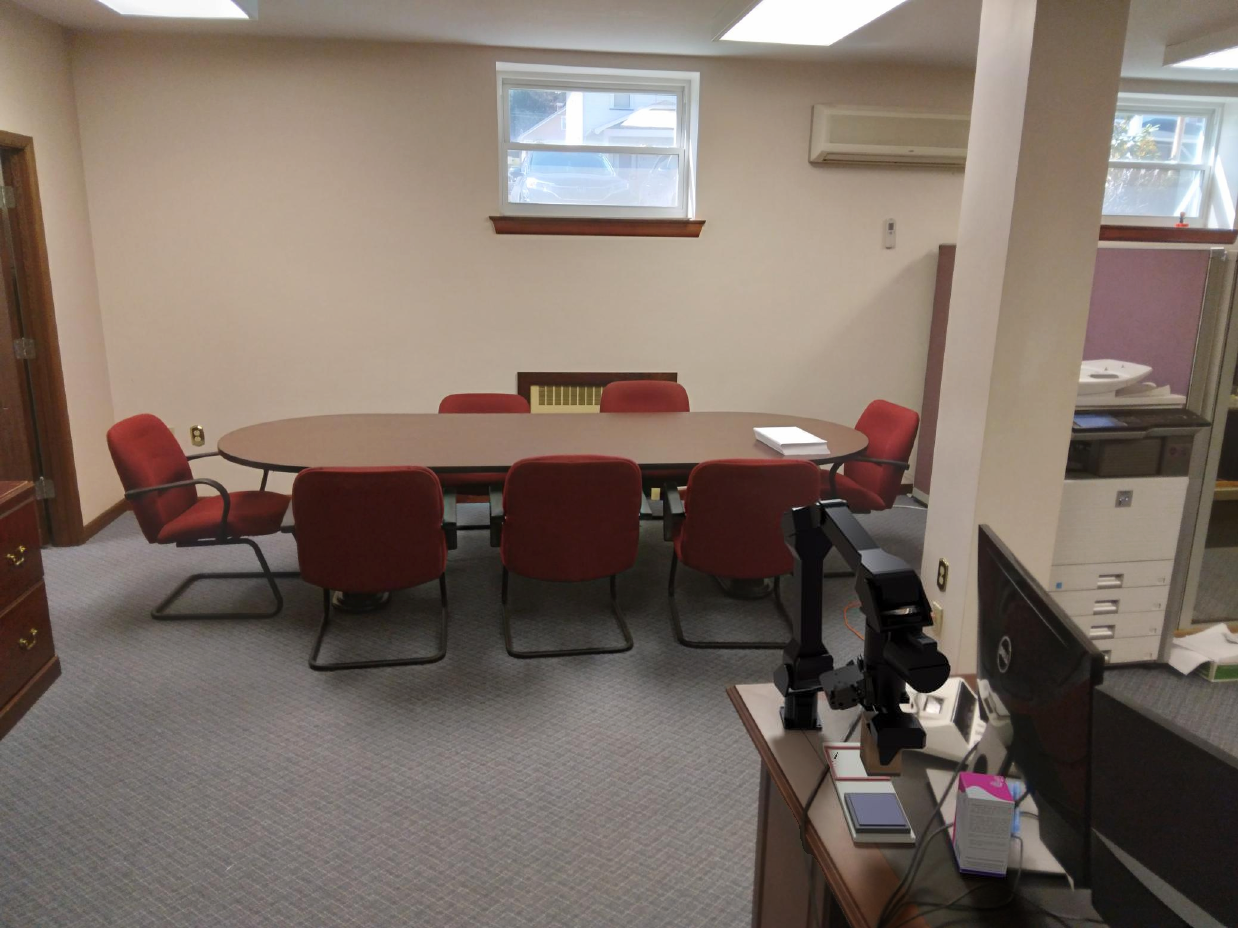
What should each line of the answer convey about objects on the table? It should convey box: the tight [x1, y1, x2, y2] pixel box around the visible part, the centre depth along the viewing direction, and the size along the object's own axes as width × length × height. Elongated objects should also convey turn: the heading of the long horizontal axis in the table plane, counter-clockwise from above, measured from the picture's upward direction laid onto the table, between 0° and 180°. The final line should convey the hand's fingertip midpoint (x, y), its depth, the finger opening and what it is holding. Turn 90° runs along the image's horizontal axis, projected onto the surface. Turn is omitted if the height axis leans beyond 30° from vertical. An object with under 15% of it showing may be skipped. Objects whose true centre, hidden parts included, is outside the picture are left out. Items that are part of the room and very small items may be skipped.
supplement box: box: [951, 771, 1016, 878], centre depth 104 cm, size 6×6×12 cm
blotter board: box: [821, 742, 917, 844], centre depth 119 cm, size 22×8×2 cm, turn 177°
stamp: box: [859, 711, 903, 778], centre depth 110 cm, size 4×4×7 cm
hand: (879, 753), depth 111 cm, fingers closed on stamp, 4 cm apart
